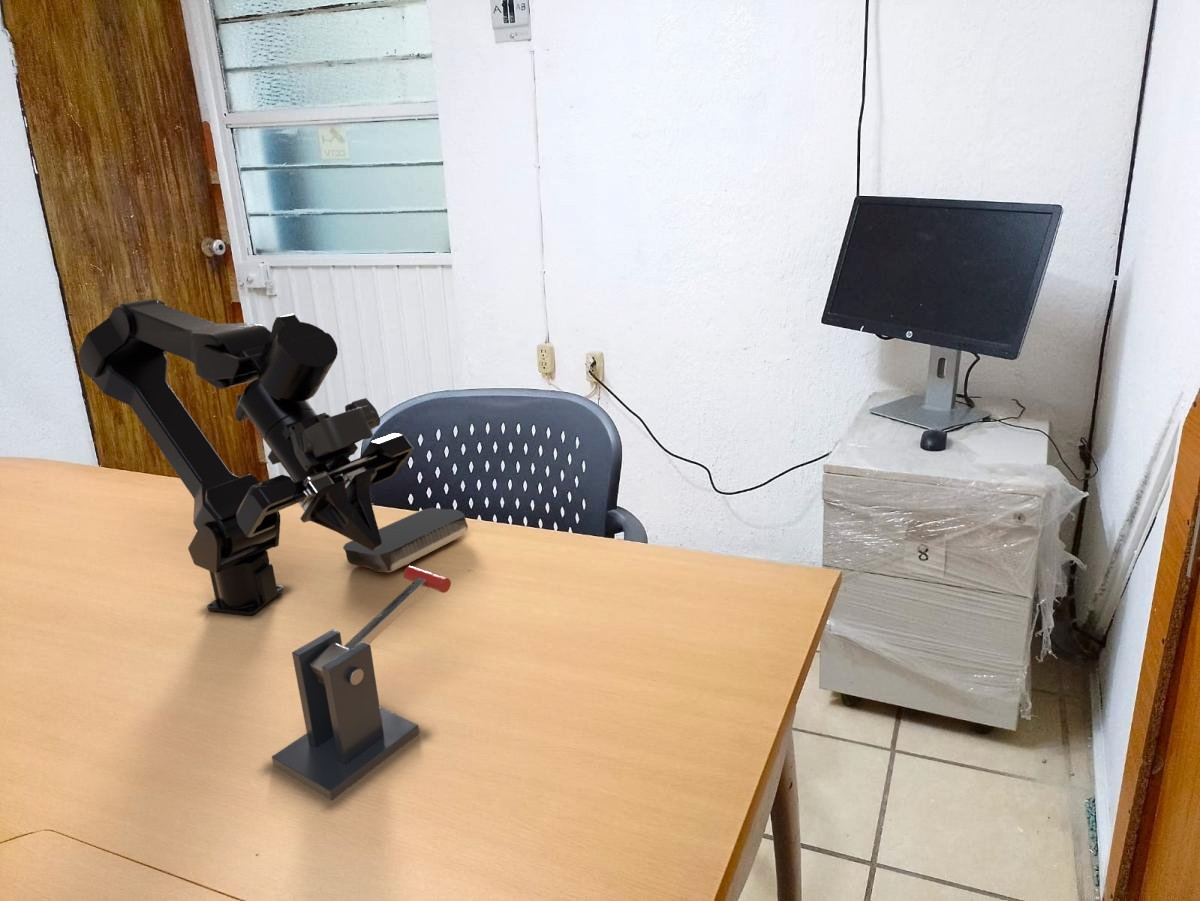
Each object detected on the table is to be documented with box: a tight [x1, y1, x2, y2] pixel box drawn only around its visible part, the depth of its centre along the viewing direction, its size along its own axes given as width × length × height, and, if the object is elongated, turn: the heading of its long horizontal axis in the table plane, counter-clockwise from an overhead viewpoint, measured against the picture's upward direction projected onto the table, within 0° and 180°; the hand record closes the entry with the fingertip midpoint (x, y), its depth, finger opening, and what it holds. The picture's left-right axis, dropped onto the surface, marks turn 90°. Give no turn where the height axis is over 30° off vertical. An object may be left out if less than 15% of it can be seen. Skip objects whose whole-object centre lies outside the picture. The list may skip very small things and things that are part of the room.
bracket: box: [271, 628, 420, 801], centre depth 73 cm, size 10×8×11 cm
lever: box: [310, 565, 452, 686], centre depth 76 cm, size 14×5×2 cm, turn 146°
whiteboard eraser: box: [342, 507, 468, 573], centre depth 112 cm, size 16×8×4 cm, turn 143°
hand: (377, 547), depth 83 cm, fingers closed
